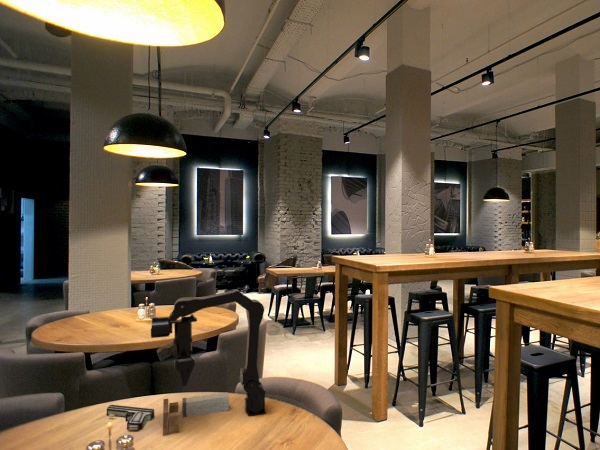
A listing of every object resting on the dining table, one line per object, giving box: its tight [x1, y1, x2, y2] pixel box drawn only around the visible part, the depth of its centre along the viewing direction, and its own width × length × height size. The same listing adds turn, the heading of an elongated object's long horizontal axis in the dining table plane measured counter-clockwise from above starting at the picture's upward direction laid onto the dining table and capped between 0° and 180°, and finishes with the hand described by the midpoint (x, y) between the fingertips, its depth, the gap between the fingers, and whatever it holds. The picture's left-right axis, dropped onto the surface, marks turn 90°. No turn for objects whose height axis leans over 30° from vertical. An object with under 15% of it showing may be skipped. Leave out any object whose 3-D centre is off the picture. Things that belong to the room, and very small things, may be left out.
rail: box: [181, 391, 230, 418], centre depth 134 cm, size 16×4×5 cm, turn 110°
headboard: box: [162, 398, 180, 436], centre depth 124 cm, size 5×11×7 cm, turn 20°
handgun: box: [106, 404, 155, 431], centre depth 127 cm, size 3×19×12 cm
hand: (183, 380), depth 128 cm, fingers open, 9 cm apart
